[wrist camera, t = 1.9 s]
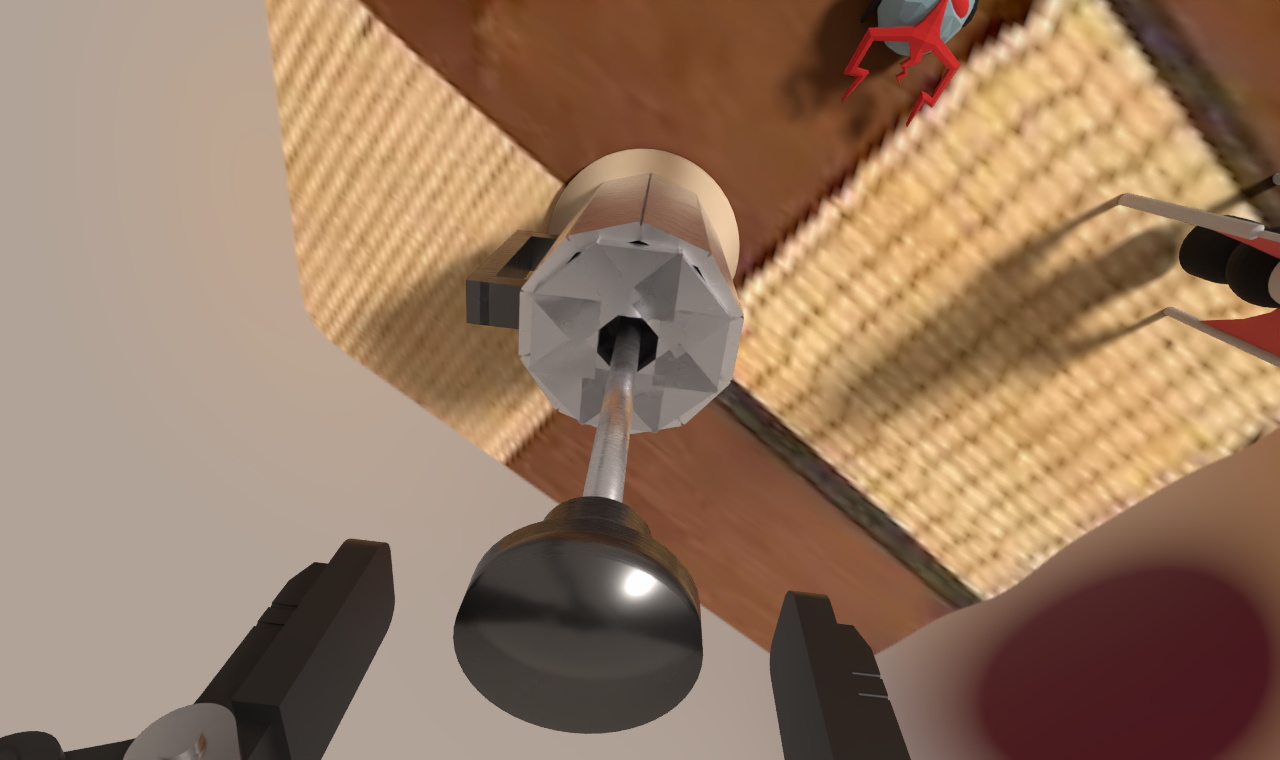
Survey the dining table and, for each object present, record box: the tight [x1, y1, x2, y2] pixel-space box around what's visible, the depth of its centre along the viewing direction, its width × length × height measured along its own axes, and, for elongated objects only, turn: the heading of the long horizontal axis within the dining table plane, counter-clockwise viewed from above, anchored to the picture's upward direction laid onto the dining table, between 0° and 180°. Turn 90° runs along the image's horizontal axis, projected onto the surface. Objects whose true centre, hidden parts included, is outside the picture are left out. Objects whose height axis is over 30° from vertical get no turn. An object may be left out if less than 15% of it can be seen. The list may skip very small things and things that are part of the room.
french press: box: [466, 172, 744, 434], centre depth 31 cm, size 12×10×15 cm
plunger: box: [453, 315, 703, 734], centre depth 20 cm, size 6×6×18 cm
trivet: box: [548, 148, 739, 280], centre depth 39 cm, size 12×12×1 cm
